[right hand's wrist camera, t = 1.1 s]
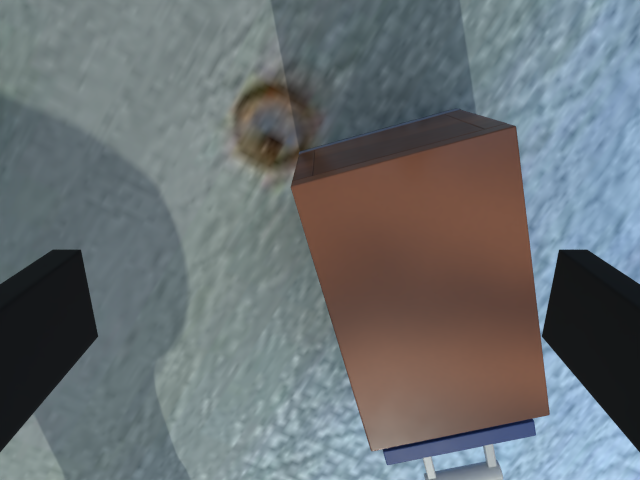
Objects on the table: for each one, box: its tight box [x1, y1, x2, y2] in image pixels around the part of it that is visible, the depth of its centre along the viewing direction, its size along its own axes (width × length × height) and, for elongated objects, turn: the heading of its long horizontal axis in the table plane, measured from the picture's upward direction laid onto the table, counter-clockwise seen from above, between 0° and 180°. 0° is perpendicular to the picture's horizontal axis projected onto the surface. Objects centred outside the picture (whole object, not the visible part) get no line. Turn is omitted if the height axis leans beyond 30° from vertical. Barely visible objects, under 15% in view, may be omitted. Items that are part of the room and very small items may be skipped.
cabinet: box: [291, 108, 549, 451], centre depth 29 cm, size 17×11×10 cm, turn 15°
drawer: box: [383, 419, 536, 480], centre depth 31 cm, size 21×10×8 cm, turn 15°
